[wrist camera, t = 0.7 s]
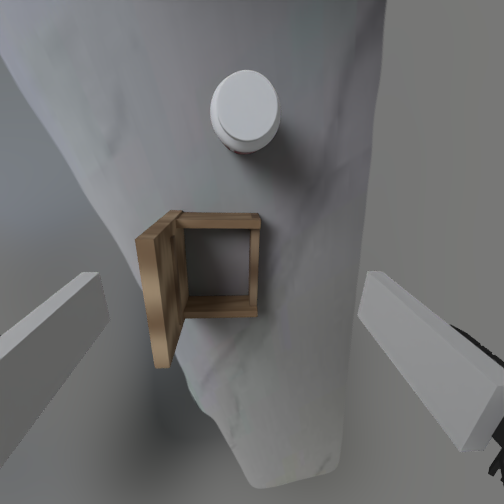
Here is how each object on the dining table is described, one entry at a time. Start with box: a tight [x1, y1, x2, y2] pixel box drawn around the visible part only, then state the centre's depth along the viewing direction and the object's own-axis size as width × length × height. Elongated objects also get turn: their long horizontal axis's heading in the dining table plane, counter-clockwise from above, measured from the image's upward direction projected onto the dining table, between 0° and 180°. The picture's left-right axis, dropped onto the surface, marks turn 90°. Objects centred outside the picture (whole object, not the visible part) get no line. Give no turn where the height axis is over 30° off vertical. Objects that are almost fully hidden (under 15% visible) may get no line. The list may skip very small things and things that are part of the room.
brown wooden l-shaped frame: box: [135, 210, 261, 368], centre depth 29 cm, size 14×11×12 cm
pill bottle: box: [210, 70, 281, 154], centre depth 23 cm, size 6×6×11 cm
